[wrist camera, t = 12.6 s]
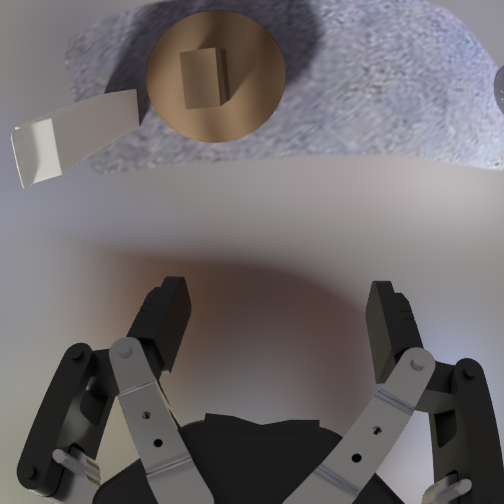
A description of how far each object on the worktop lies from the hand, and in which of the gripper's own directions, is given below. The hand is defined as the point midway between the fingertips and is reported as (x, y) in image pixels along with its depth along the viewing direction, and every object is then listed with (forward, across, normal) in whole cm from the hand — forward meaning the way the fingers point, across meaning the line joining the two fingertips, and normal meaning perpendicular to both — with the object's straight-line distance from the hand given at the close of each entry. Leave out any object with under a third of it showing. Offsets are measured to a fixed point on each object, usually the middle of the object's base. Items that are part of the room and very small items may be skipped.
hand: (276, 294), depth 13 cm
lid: (+26, +8, -8) cm, 28 cm away
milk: (+32, +24, -5) cm, 41 cm away
